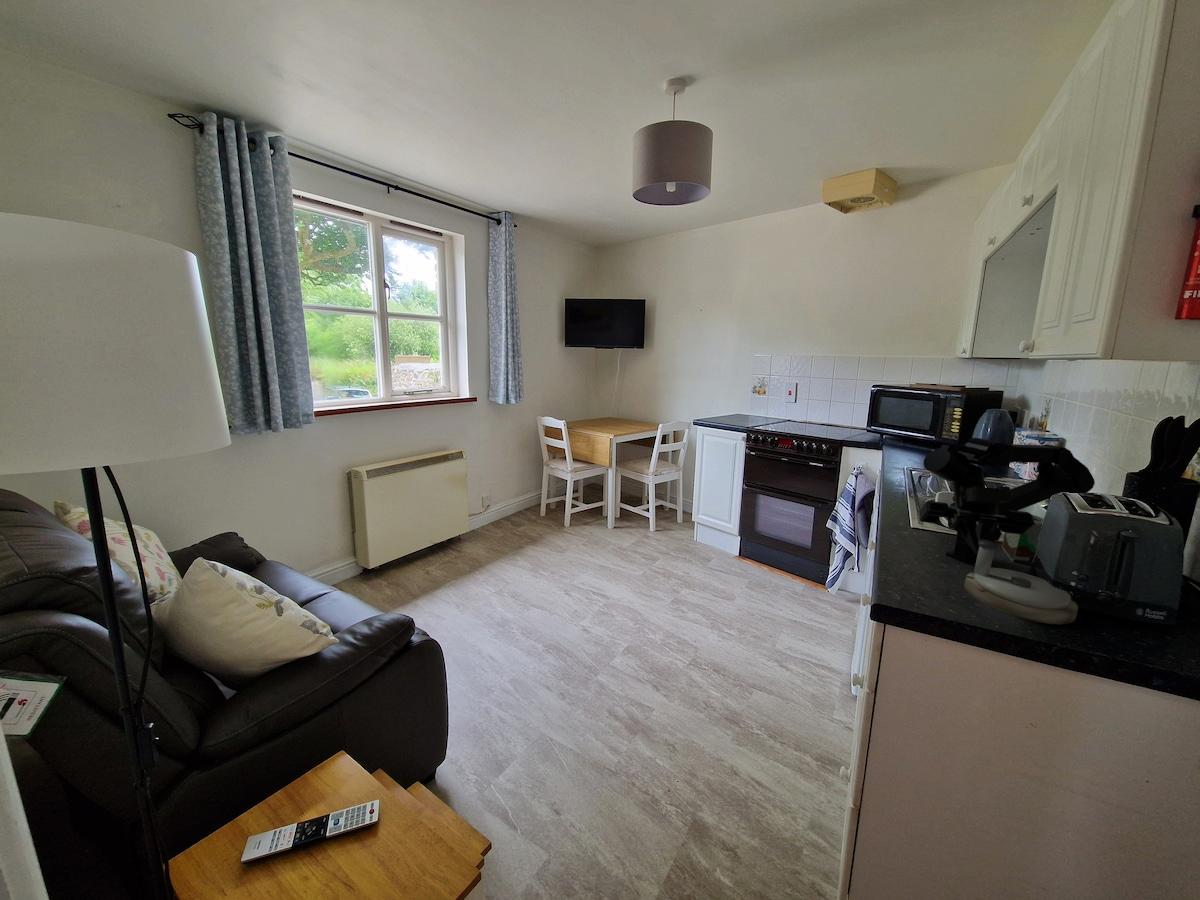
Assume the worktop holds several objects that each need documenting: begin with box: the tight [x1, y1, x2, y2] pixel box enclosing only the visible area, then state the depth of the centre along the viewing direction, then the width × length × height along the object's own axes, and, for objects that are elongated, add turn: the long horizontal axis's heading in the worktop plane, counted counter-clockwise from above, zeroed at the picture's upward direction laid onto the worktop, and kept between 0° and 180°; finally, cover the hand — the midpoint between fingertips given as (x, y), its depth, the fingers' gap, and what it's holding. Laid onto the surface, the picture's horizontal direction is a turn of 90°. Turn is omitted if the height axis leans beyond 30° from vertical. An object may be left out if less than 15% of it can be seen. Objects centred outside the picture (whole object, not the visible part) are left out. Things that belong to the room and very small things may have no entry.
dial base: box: [963, 571, 1079, 625], centre depth 89 cm, size 16×16×2 cm
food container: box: [1001, 513, 1044, 564], centre depth 108 cm, size 12×6×10 cm, turn 151°
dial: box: [973, 539, 1072, 609], centre depth 88 cm, size 14×14×8 cm
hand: (978, 553), depth 94 cm, fingers closed
